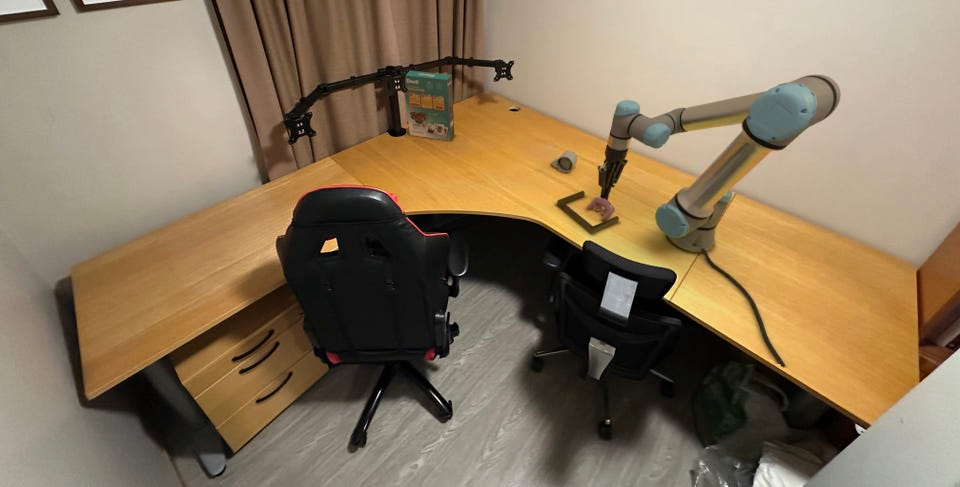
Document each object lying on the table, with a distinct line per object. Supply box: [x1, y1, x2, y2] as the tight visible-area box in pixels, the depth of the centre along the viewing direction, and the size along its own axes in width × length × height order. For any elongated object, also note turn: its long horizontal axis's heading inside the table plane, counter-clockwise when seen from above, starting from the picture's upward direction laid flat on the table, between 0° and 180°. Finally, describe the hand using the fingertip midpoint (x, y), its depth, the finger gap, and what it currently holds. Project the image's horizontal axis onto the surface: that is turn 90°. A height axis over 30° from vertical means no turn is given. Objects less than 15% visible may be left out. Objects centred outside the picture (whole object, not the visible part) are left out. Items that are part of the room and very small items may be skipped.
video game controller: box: [586, 196, 616, 222], centre depth 153 cm, size 10×5×7 cm, turn 32°
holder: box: [556, 190, 620, 235], centre depth 154 cm, size 20×13×2 cm, turn 31°
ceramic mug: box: [551, 150, 578, 173], centre depth 177 cm, size 11×8×8 cm
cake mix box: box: [404, 70, 455, 142], centre depth 192 cm, size 22×6×30 cm, turn 74°
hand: (603, 199), depth 155 cm, fingers closed
